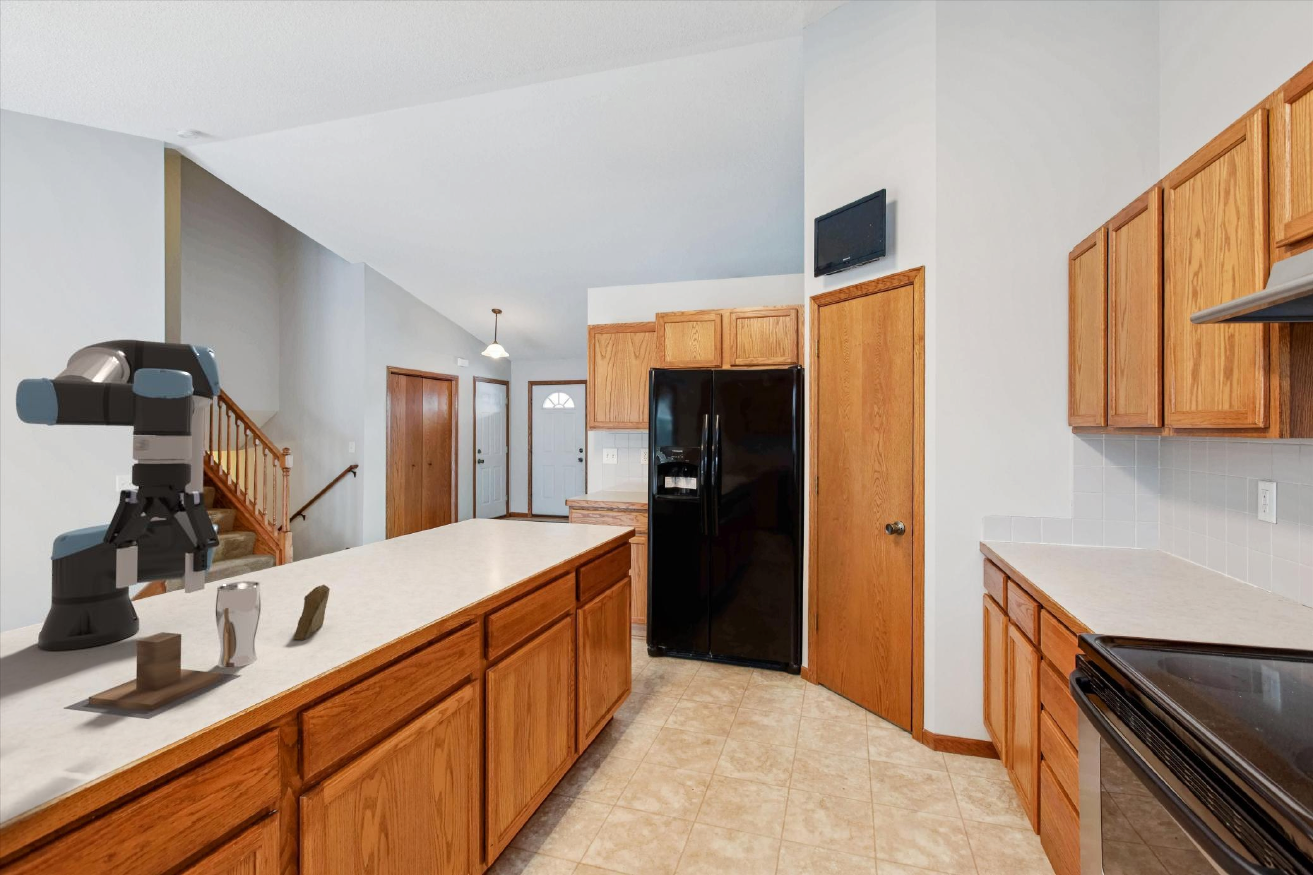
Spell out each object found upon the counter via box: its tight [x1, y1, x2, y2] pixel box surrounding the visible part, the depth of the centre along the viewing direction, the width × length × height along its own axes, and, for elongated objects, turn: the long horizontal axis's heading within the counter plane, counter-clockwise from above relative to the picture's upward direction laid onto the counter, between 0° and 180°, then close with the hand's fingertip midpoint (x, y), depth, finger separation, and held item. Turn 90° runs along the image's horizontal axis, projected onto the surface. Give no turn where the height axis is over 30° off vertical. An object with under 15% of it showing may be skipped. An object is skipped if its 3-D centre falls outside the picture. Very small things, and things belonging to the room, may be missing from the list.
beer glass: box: [214, 580, 262, 669], centre depth 109 cm, size 7×7×15 cm
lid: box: [88, 631, 222, 711], centre depth 96 cm, size 12×12×9 cm
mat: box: [64, 669, 242, 720], centre depth 96 cm, size 16×16×1 cm
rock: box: [292, 584, 330, 640], centre depth 127 cm, size 11×9×10 cm
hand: (160, 588), depth 96 cm, fingers open, 13 cm apart
